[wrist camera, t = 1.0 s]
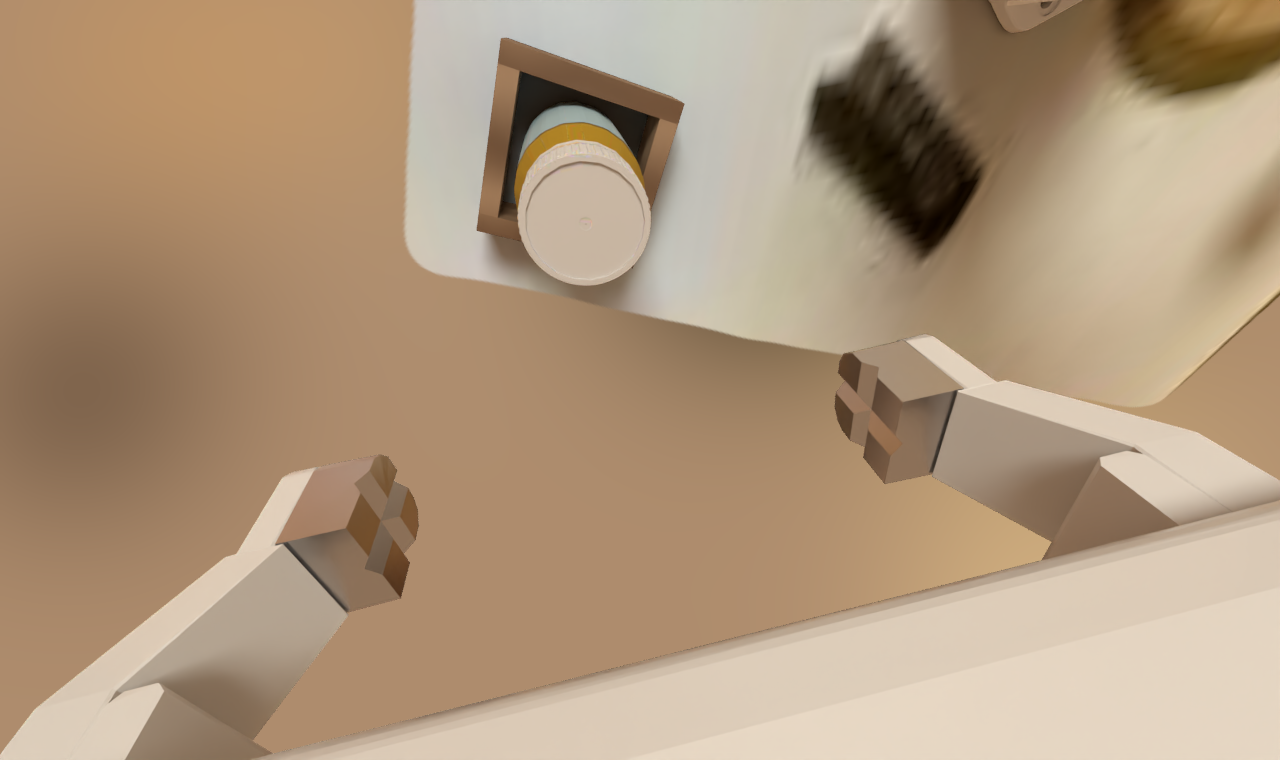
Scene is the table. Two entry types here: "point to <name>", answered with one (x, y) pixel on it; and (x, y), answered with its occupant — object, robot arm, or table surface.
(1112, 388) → the table surface
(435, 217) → the table surface
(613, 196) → the bottle
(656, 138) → the pocket
